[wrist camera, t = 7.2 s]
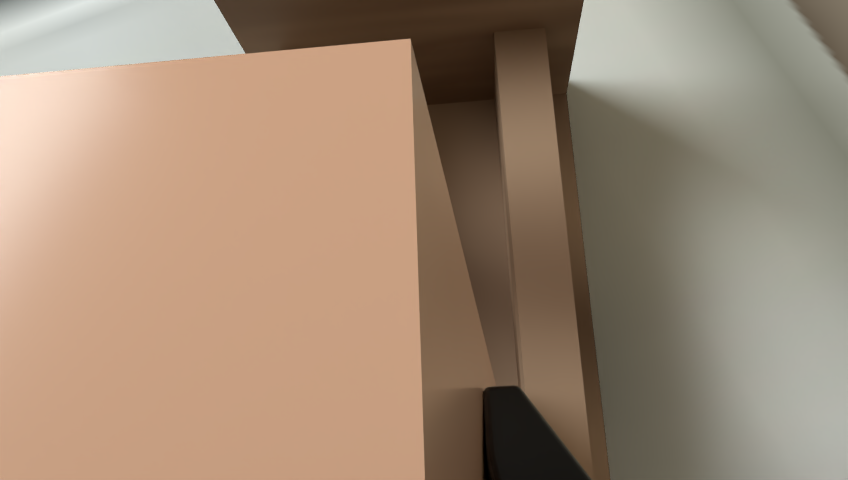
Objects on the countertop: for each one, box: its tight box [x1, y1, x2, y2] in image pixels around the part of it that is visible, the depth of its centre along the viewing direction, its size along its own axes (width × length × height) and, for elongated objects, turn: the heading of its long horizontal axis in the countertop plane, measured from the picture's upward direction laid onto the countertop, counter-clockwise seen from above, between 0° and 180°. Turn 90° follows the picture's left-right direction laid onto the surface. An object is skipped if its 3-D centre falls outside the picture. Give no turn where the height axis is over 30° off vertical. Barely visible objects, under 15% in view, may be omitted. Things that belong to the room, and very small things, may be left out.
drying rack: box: [214, 0, 610, 480], centre depth 18 cm, size 14×8×8 cm, turn 3°
